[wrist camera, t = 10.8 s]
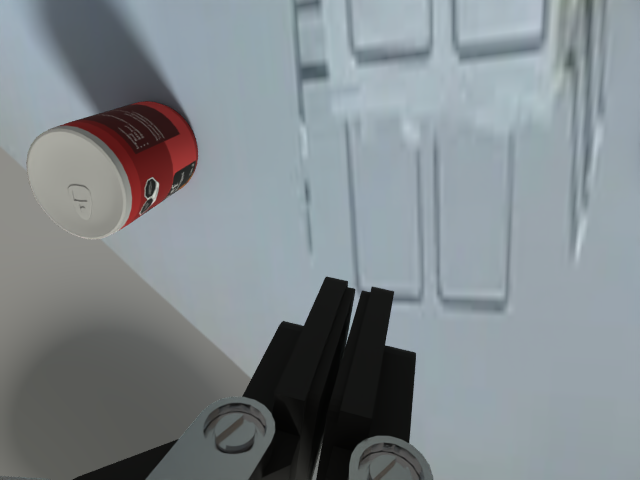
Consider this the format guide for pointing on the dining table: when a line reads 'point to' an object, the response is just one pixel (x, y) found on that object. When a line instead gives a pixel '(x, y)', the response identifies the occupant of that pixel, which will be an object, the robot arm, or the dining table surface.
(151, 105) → the canned food
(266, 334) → the dining table surface
